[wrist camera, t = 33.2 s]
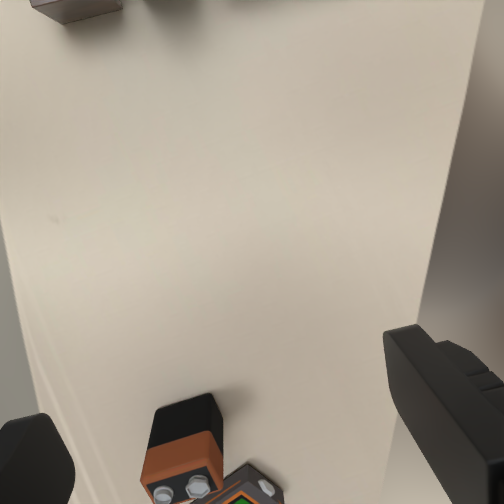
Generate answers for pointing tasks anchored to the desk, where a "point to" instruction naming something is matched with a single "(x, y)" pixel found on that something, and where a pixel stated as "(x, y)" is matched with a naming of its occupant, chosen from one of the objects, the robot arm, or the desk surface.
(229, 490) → the electronic device
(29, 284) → the desk surface
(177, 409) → the battery
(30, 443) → the robot arm
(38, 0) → the block row
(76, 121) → the desk surface
